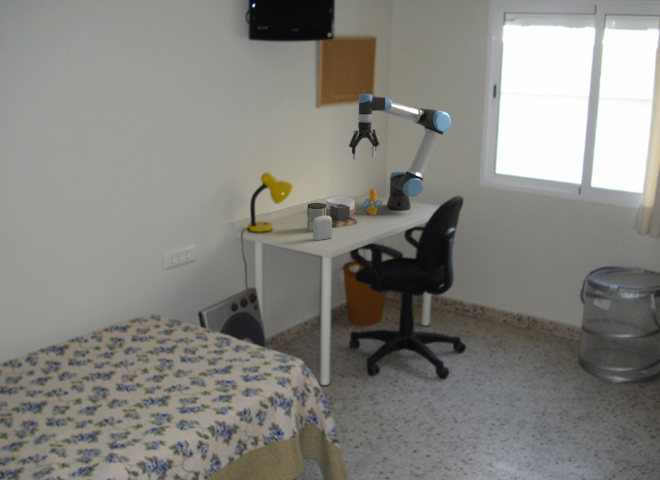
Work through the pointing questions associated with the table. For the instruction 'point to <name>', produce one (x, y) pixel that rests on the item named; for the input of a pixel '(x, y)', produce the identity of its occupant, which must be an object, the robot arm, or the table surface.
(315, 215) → the coffee can
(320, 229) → the photo printer
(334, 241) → the table surface
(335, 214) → the hollow dark grey cube
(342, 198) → the bowl
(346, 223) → the plate
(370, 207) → the orange tube with rings
